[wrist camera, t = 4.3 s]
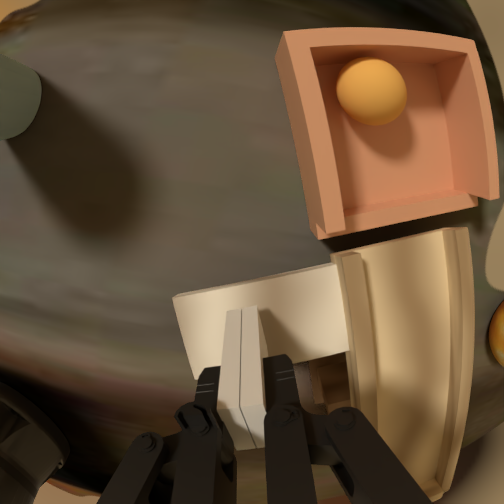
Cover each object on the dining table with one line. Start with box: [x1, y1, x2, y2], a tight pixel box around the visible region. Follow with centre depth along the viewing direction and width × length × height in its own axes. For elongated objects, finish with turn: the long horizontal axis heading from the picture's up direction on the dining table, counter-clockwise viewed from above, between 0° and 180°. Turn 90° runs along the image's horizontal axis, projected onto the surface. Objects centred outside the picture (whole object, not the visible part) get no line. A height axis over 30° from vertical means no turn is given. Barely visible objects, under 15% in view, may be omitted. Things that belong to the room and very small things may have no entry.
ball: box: [336, 57, 407, 126], centre depth 14 cm, size 4×4×4 cm
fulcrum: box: [308, 352, 351, 415], centre depth 20 cm, size 12×7×5 cm, turn 102°
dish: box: [275, 27, 499, 240], centre depth 15 cm, size 12×11×4 cm
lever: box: [172, 227, 475, 502], centre depth 16 cm, size 17×22×3 cm
